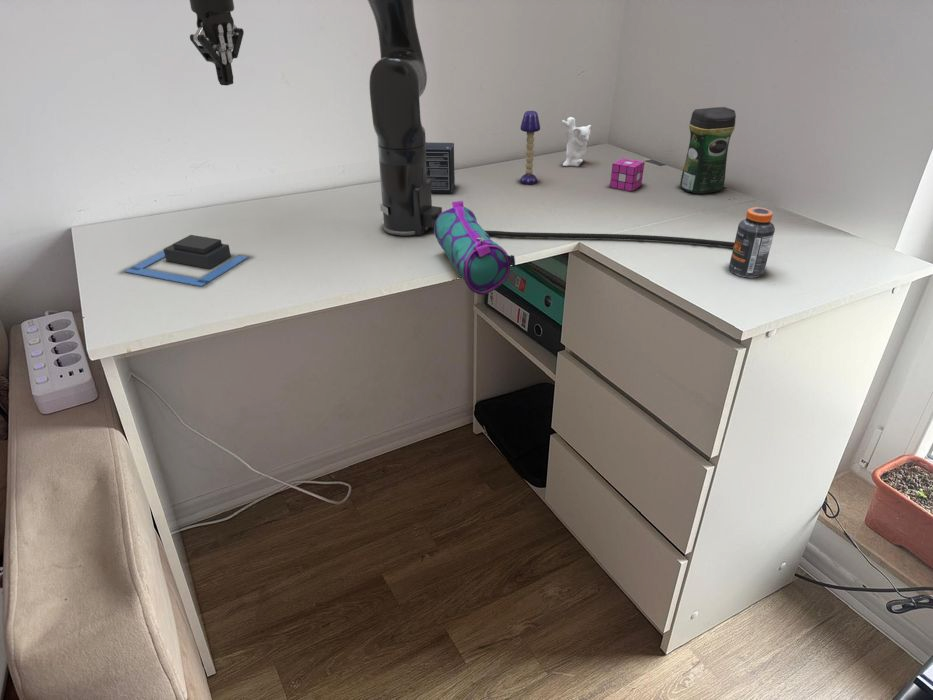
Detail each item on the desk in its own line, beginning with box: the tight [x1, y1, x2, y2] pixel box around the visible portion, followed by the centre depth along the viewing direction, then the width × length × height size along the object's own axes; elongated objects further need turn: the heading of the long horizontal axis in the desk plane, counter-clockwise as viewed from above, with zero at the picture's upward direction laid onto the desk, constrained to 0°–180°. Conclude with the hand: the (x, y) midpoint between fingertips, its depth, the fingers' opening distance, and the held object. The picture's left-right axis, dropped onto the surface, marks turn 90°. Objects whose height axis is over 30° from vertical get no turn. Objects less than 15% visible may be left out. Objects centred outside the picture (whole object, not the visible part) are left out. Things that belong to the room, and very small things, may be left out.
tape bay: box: [124, 250, 249, 287], centre depth 122 cm, size 17×13×1 cm
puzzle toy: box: [609, 157, 645, 192], centre depth 158 cm, size 6×6×6 cm
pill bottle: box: [728, 206, 776, 278], centre depth 115 cm, size 6×6×11 cm
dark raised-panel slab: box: [162, 234, 232, 270], centre depth 123 cm, size 10×6×4 cm, turn 69°
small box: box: [426, 141, 456, 194], centre depth 155 cm, size 11×6×10 cm, turn 84°
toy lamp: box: [519, 110, 541, 185], centre depth 158 cm, size 5×5×17 cm
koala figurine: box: [561, 116, 593, 167], centre depth 172 cm, size 8×7×12 cm
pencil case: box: [433, 200, 516, 296], centre depth 116 cm, size 21×9×10 cm, turn 17°
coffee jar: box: [679, 106, 737, 194], centre depth 153 cm, size 10×8×19 cm
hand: (226, 84), depth 128 cm, fingers closed
